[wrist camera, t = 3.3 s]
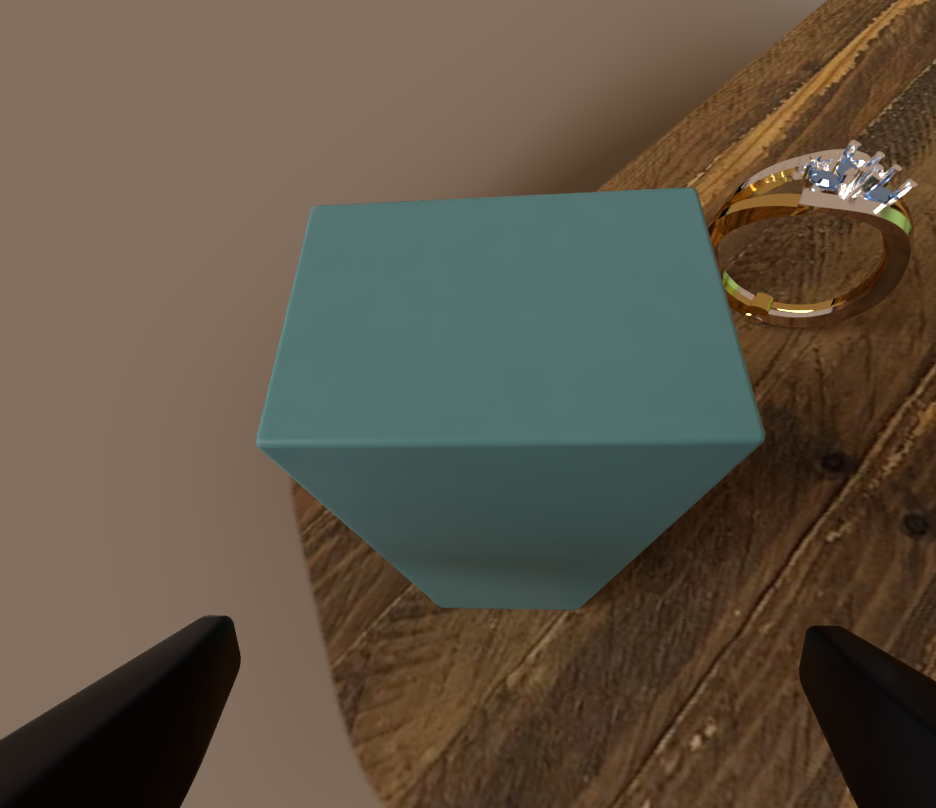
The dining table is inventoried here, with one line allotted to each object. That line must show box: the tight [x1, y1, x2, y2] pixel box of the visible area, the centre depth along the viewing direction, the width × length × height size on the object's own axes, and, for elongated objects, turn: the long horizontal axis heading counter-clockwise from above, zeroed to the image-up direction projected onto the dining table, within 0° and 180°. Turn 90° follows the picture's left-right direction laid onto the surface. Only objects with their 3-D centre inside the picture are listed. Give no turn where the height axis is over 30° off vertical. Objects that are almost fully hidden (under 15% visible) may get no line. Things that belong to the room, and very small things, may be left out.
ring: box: [707, 140, 917, 327], centre depth 20 cm, size 7×3×8 cm, turn 58°
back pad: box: [256, 187, 765, 610], centre depth 12 cm, size 4×5×15 cm
